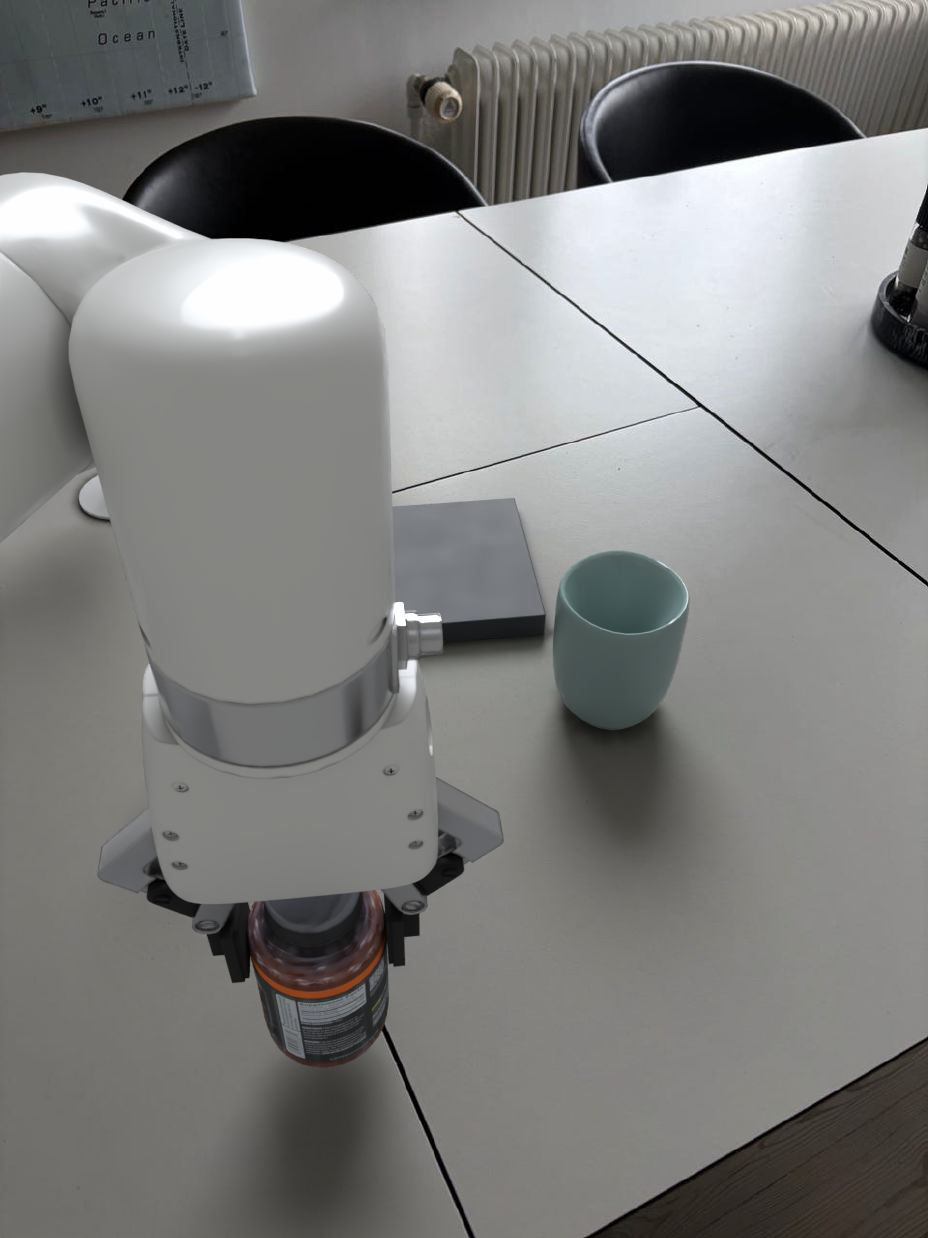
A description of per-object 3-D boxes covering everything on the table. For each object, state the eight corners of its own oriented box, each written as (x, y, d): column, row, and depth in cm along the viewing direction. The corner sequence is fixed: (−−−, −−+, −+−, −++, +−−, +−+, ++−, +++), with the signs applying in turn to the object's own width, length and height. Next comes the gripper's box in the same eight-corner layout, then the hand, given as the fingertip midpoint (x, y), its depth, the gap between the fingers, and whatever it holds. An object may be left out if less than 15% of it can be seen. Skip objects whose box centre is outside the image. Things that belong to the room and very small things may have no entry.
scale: (315, 657, 70) (309, 620, 68) (312, 531, 81) (308, 495, 78) (545, 637, 72) (548, 601, 69) (513, 516, 82) (515, 480, 80)
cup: (525, 697, 67) (532, 585, 61) (606, 645, 71) (621, 533, 64) (609, 767, 63) (627, 655, 56) (690, 708, 67) (717, 596, 60)
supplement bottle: (269, 957, 51) (244, 825, 43) (388, 951, 51) (384, 820, 43) (261, 1078, 46) (231, 955, 39) (390, 1070, 47) (386, 948, 39)
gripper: (527, 562, 35) (501, 852, 48) (15, 592, 33) (126, 886, 46) (570, 725, 30) (527, 1005, 42) (-39, 773, 28) (104, 1050, 40)
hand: (318, 941), depth 44 cm, fingers closed on supplement bottle, 6 cm apart
